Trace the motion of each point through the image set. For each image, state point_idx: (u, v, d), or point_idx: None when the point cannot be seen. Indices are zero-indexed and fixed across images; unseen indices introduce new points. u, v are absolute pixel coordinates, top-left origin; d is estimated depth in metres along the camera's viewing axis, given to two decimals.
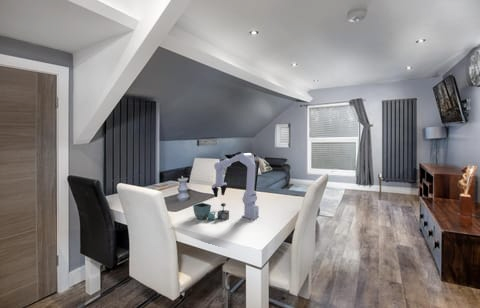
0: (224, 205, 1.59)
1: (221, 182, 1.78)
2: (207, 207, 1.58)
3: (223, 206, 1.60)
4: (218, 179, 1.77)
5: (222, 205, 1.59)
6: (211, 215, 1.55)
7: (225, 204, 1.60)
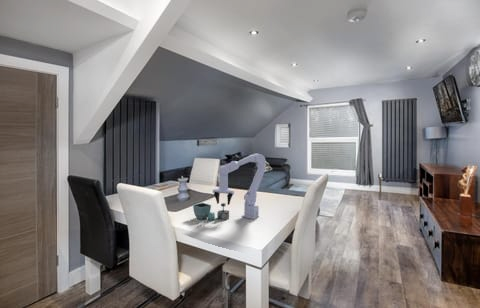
0: (224, 205, 1.59)
1: (220, 188, 1.57)
2: (207, 207, 1.58)
3: (223, 206, 1.60)
4: (219, 184, 1.59)
5: (222, 205, 1.59)
6: (211, 215, 1.55)
7: (225, 204, 1.60)
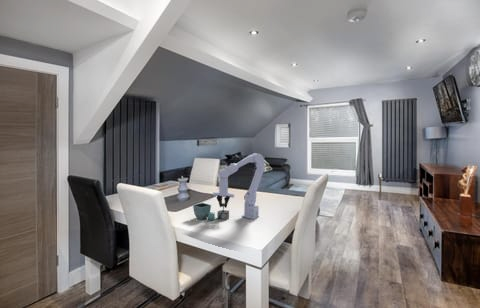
0: (224, 205, 1.59)
1: (220, 192, 1.57)
2: (207, 207, 1.58)
3: (223, 206, 1.60)
4: (219, 188, 1.59)
5: (222, 205, 1.59)
6: (211, 215, 1.55)
7: None
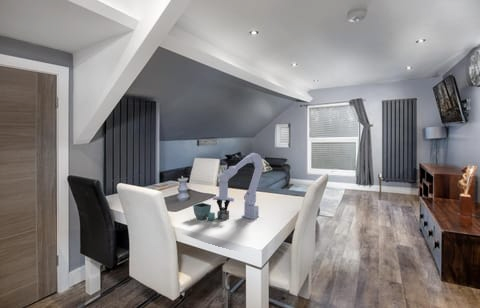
0: (224, 209, 1.59)
1: (220, 196, 1.57)
2: (207, 207, 1.58)
3: (223, 210, 1.60)
4: (219, 192, 1.59)
5: (222, 209, 1.59)
6: (211, 215, 1.55)
7: None
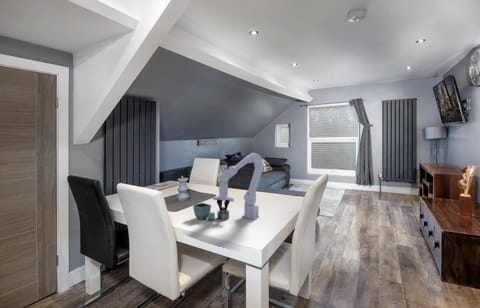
0: (224, 209, 1.59)
1: (220, 196, 1.57)
2: (207, 207, 1.58)
3: (223, 210, 1.60)
4: (219, 192, 1.59)
5: (222, 209, 1.59)
6: (211, 215, 1.55)
7: None
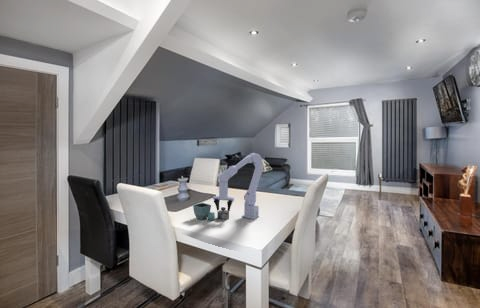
0: (224, 209, 1.59)
1: (220, 195, 1.57)
2: (207, 207, 1.58)
3: (223, 210, 1.60)
4: (219, 191, 1.59)
5: (222, 209, 1.59)
6: (211, 215, 1.55)
7: (225, 208, 1.60)
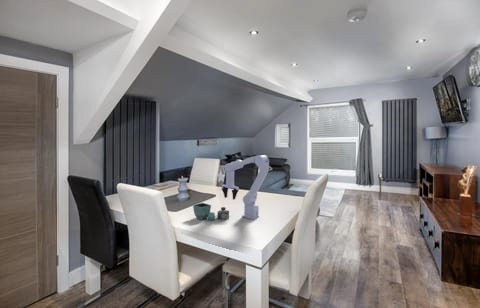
0: (224, 209, 1.59)
1: (226, 184, 1.70)
2: (207, 207, 1.58)
3: (223, 210, 1.60)
4: None
5: (222, 209, 1.59)
6: (211, 215, 1.55)
7: (225, 208, 1.60)
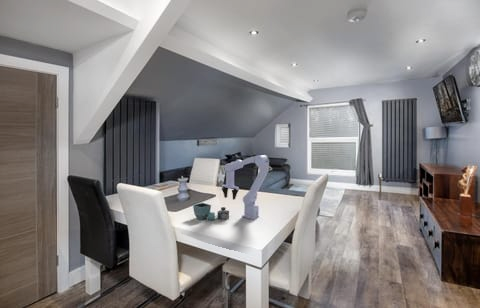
0: (224, 209, 1.59)
1: (226, 184, 1.70)
2: (207, 207, 1.58)
3: (223, 210, 1.60)
4: None
5: (222, 209, 1.59)
6: (211, 215, 1.55)
7: (225, 208, 1.60)
